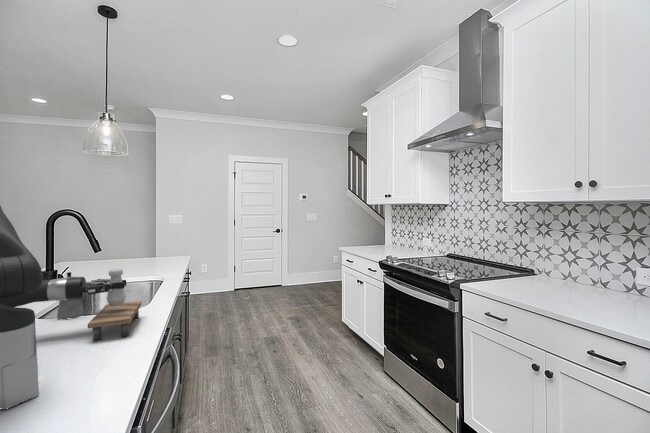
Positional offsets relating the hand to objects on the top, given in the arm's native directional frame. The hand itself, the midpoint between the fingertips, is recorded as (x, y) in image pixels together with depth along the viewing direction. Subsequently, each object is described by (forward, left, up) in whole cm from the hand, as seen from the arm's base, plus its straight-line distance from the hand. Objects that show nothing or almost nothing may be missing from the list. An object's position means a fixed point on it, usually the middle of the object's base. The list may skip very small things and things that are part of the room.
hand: (125, 284), depth 119 cm
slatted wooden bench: (+2, +2, -16) cm, 16 cm away
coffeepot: (+33, 0, -16) cm, 37 cm away
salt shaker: (+2, +2, -7) cm, 8 cm away
